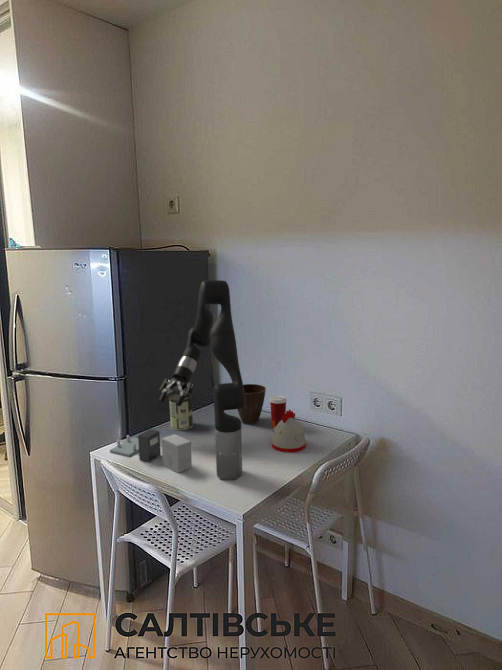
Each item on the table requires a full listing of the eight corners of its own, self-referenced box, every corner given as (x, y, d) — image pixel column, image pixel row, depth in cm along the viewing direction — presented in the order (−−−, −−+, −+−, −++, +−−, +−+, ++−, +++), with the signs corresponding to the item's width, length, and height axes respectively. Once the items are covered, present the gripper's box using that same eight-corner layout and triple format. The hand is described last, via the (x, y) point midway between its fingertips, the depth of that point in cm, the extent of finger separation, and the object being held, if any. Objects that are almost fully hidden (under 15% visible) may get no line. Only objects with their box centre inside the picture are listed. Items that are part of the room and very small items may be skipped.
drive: (151, 453, 185) (149, 429, 184) (160, 455, 183) (159, 431, 181) (139, 460, 179) (137, 435, 177) (149, 462, 177) (147, 437, 175)
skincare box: (192, 467, 172) (191, 440, 170) (178, 473, 168) (177, 446, 166) (176, 459, 180) (175, 433, 178) (162, 464, 175) (160, 438, 173)
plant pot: (251, 413, 228) (250, 382, 225) (272, 421, 217) (272, 388, 215) (227, 421, 218) (226, 388, 216) (249, 429, 207) (248, 395, 205)
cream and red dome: (264, 446, 190) (264, 410, 188) (285, 436, 200) (285, 402, 198) (291, 455, 181) (291, 418, 178) (312, 444, 191) (312, 409, 188)
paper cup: (290, 426, 211) (289, 396, 208) (281, 432, 204) (281, 401, 202) (274, 423, 215) (274, 394, 212) (266, 429, 208) (266, 398, 206)
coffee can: (183, 420, 221) (182, 391, 218) (197, 425, 214) (196, 396, 211) (165, 426, 213) (164, 397, 211) (179, 432, 206) (178, 401, 204)
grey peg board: (133, 439, 199) (133, 431, 198) (152, 443, 194) (151, 435, 194) (109, 452, 187) (109, 444, 186) (129, 456, 182) (128, 448, 182)
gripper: (167, 363, 197) (150, 397, 189) (195, 366, 190) (179, 402, 183) (175, 372, 203) (159, 405, 195) (202, 376, 196) (188, 410, 188)
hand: (169, 403), depth 189 cm, fingers open, 8 cm apart
